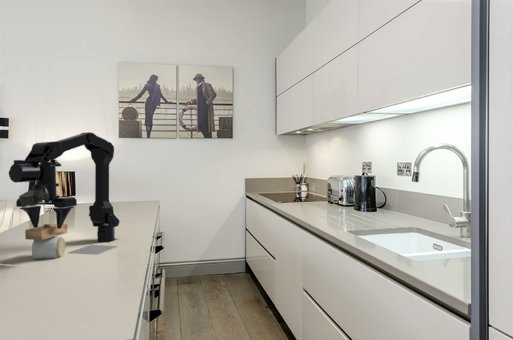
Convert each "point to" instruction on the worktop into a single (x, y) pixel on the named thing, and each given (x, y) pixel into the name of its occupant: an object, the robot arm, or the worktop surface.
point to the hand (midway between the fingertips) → (47, 228)
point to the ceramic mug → (48, 248)
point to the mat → (93, 249)
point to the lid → (45, 231)
